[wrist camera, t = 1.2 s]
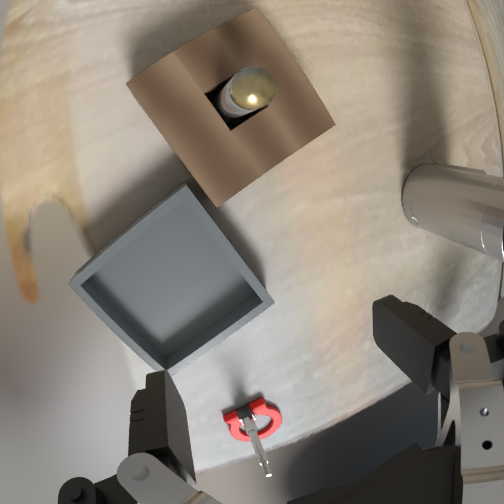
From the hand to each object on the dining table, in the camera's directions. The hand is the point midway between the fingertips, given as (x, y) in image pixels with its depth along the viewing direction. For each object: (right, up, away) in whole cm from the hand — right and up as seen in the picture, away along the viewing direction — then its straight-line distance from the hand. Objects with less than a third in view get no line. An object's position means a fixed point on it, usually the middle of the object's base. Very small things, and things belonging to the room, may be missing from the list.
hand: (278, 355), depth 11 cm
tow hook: (-1, -23, +35) cm, 41 cm away
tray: (-10, 0, +25) cm, 27 cm away
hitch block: (-4, +19, +20) cm, 28 cm away
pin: (-4, +19, +20) cm, 28 cm away
